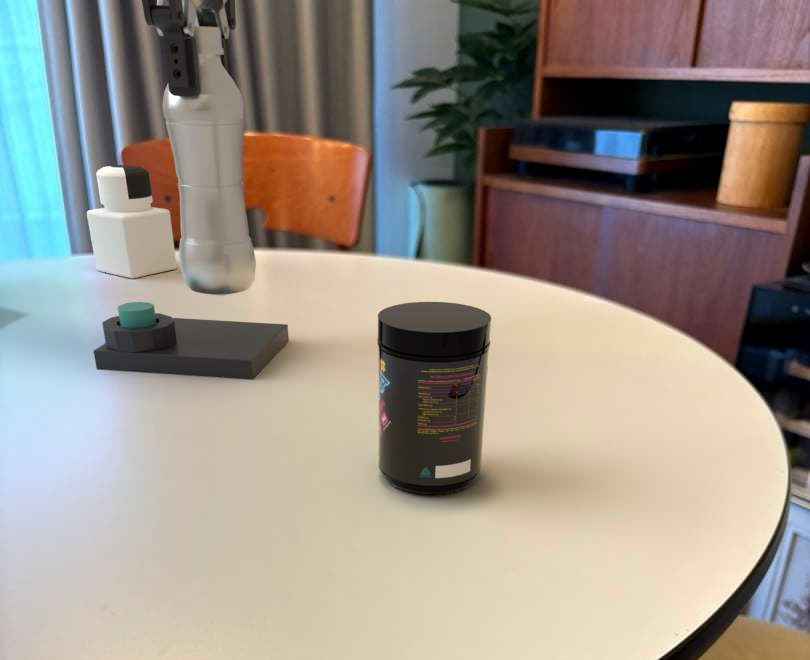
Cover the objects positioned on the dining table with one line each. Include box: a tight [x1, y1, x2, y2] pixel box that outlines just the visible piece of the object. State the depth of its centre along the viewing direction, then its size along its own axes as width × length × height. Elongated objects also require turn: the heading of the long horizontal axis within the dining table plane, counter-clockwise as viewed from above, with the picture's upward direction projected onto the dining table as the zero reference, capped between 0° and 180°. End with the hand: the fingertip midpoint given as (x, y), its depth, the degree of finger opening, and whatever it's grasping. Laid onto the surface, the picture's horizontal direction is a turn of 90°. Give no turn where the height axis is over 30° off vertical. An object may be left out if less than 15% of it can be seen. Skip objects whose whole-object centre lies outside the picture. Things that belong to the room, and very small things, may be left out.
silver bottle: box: [161, 26, 257, 296], centre depth 68 cm, size 6×7×20 cm
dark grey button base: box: [93, 312, 290, 381], centre depth 74 cm, size 14×11×4 cm
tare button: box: [117, 301, 157, 328], centre depth 71 cm, size 3×3×2 cm
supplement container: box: [376, 301, 492, 495], centre depth 51 cm, size 7×7×10 cm
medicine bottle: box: [86, 164, 177, 279], centre depth 101 cm, size 7×7×12 cm
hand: (200, 93), depth 65 cm, fingers closed on silver bottle, 6 cm apart
